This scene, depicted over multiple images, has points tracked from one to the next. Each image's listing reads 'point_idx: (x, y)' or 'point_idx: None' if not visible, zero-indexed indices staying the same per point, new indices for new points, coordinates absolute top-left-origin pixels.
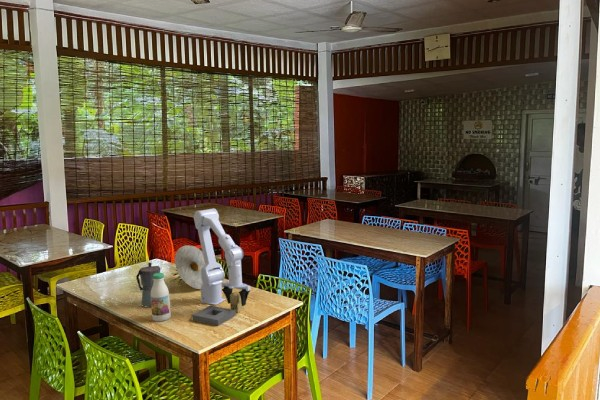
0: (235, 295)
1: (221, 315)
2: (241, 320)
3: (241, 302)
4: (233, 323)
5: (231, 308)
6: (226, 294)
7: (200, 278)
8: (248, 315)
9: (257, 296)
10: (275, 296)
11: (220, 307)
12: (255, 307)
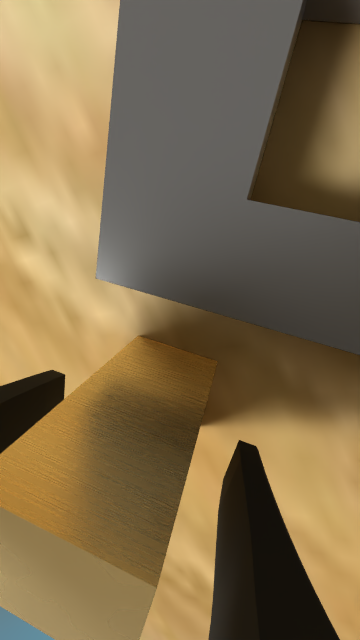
0: (2, 505)
1: (192, 2)
2: (29, 171)
3: (22, 389)
4: (54, 57)
5: (201, 375)
6: (274, 620)
7: None
8: (37, 296)
9: None
10: None
11: (337, 344)
12: None
